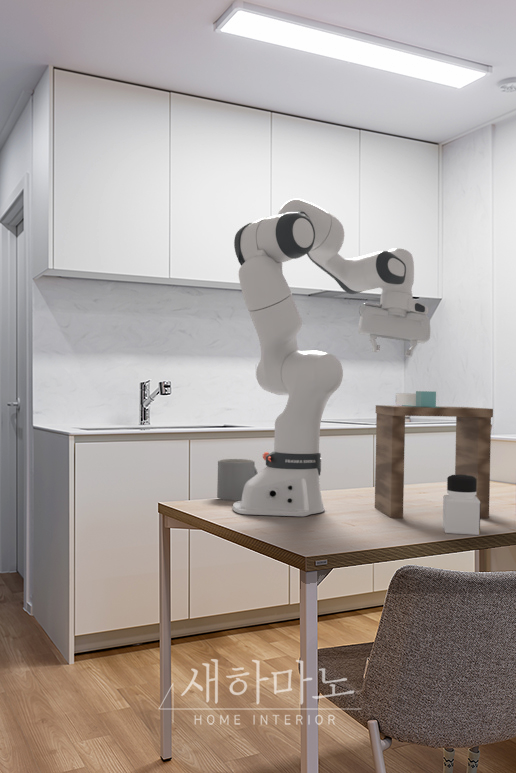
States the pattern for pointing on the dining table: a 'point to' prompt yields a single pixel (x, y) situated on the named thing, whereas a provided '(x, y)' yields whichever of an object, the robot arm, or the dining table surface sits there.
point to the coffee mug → (234, 477)
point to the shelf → (468, 459)
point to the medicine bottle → (461, 506)
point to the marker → (417, 399)
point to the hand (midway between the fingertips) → (392, 354)
